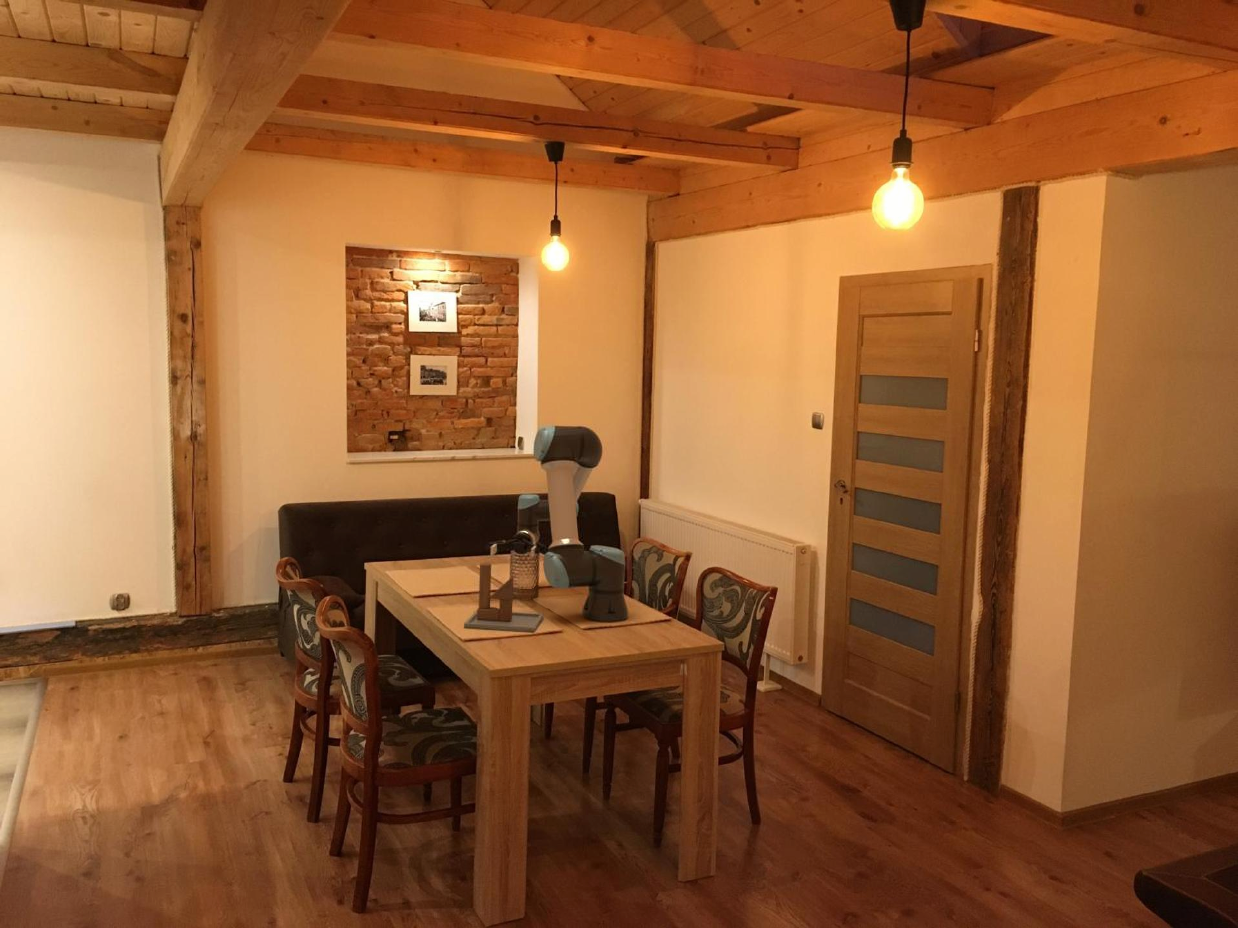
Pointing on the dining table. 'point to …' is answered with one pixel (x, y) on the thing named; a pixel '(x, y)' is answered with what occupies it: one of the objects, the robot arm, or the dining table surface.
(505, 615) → the wooden block
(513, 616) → the slate tray
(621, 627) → the dining table surface
